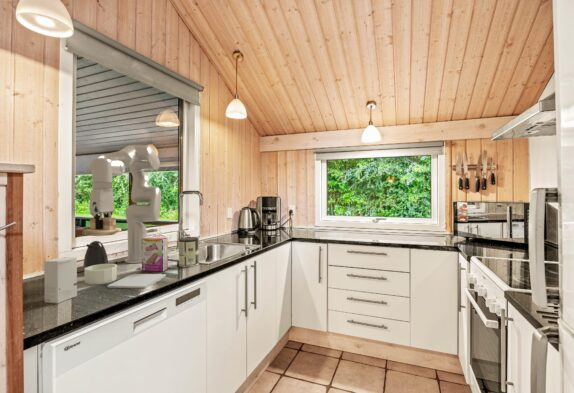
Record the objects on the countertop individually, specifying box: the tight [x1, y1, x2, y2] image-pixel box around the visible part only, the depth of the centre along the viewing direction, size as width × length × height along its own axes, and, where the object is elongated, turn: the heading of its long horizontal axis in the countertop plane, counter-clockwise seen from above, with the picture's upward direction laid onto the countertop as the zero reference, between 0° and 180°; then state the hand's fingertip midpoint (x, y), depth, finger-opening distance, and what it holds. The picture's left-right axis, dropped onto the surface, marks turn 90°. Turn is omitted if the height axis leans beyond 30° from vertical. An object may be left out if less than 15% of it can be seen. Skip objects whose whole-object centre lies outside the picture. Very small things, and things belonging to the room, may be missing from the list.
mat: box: [107, 273, 167, 290], centre depth 134 cm, size 18×16×1 cm
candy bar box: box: [141, 236, 169, 273], centre depth 152 cm, size 11×5×16 cm, turn 84°
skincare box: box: [43, 256, 78, 304], centre depth 112 cm, size 8×6×15 cm
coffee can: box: [178, 236, 200, 268], centre depth 164 cm, size 10×10×14 cm
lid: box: [83, 217, 122, 237], centre depth 135 cm, size 14×14×7 cm
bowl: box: [84, 263, 118, 286], centre depth 135 cm, size 12×12×6 cm
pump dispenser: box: [82, 240, 109, 269], centre depth 149 cm, size 10×10×15 cm
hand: (103, 227), depth 135 cm, fingers closed on lid, 4 cm apart
